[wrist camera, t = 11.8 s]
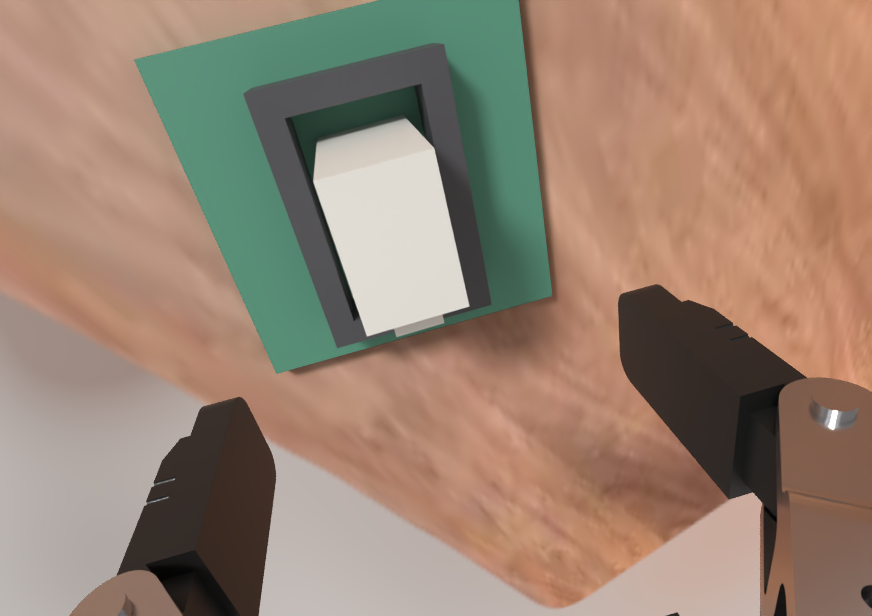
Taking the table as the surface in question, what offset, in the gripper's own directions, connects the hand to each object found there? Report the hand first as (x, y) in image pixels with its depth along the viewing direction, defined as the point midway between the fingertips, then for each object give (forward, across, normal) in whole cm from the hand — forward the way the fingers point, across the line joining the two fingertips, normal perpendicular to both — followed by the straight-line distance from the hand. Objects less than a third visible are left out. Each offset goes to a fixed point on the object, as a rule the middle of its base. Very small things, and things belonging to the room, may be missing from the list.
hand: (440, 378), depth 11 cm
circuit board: (+17, 0, +1) cm, 17 cm away
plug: (+16, 0, 0) cm, 16 cm away
